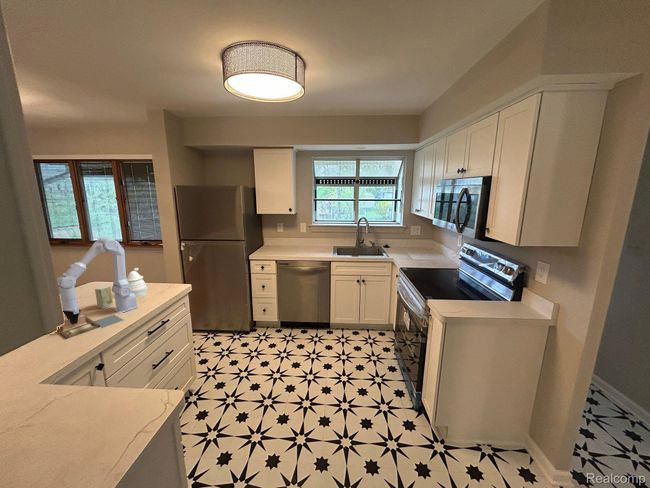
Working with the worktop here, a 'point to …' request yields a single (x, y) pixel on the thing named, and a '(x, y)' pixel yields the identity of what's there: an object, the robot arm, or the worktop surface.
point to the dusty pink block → (68, 324)
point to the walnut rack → (78, 327)
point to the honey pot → (137, 283)
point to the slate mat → (108, 321)
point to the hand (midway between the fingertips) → (73, 323)
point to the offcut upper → (80, 329)
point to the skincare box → (103, 297)
